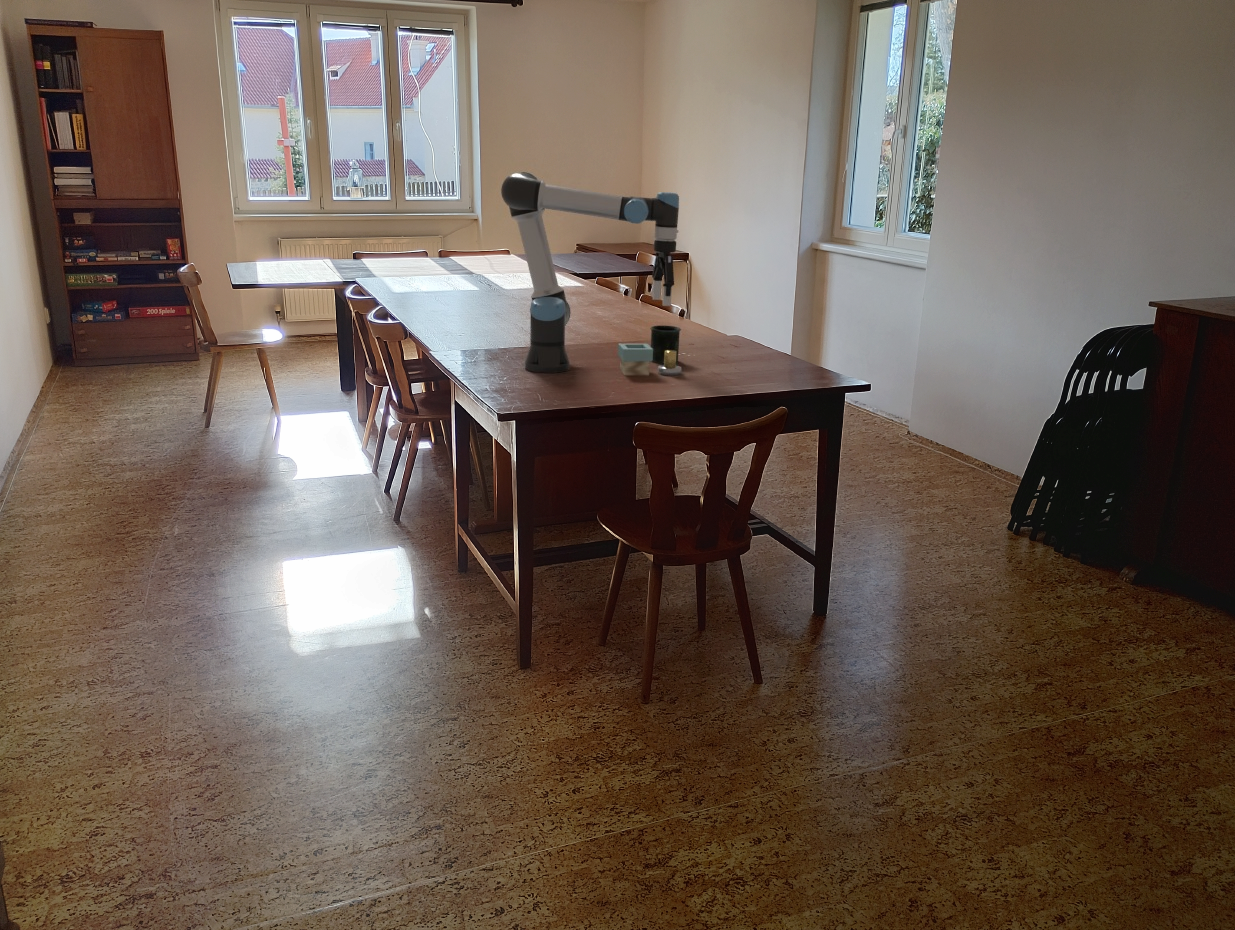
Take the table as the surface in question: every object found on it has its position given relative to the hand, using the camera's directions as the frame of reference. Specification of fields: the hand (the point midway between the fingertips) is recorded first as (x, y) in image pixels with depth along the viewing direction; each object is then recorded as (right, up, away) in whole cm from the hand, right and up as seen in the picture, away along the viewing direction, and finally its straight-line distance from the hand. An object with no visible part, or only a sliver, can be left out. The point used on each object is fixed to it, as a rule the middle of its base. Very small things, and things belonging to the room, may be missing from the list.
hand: (661, 302), depth 327 cm
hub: (+3, -25, -5) cm, 25 cm away
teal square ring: (-9, -20, -7) cm, 23 cm away
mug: (+1, -18, +15) cm, 24 cm away
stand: (-9, -25, -6) cm, 27 cm away
